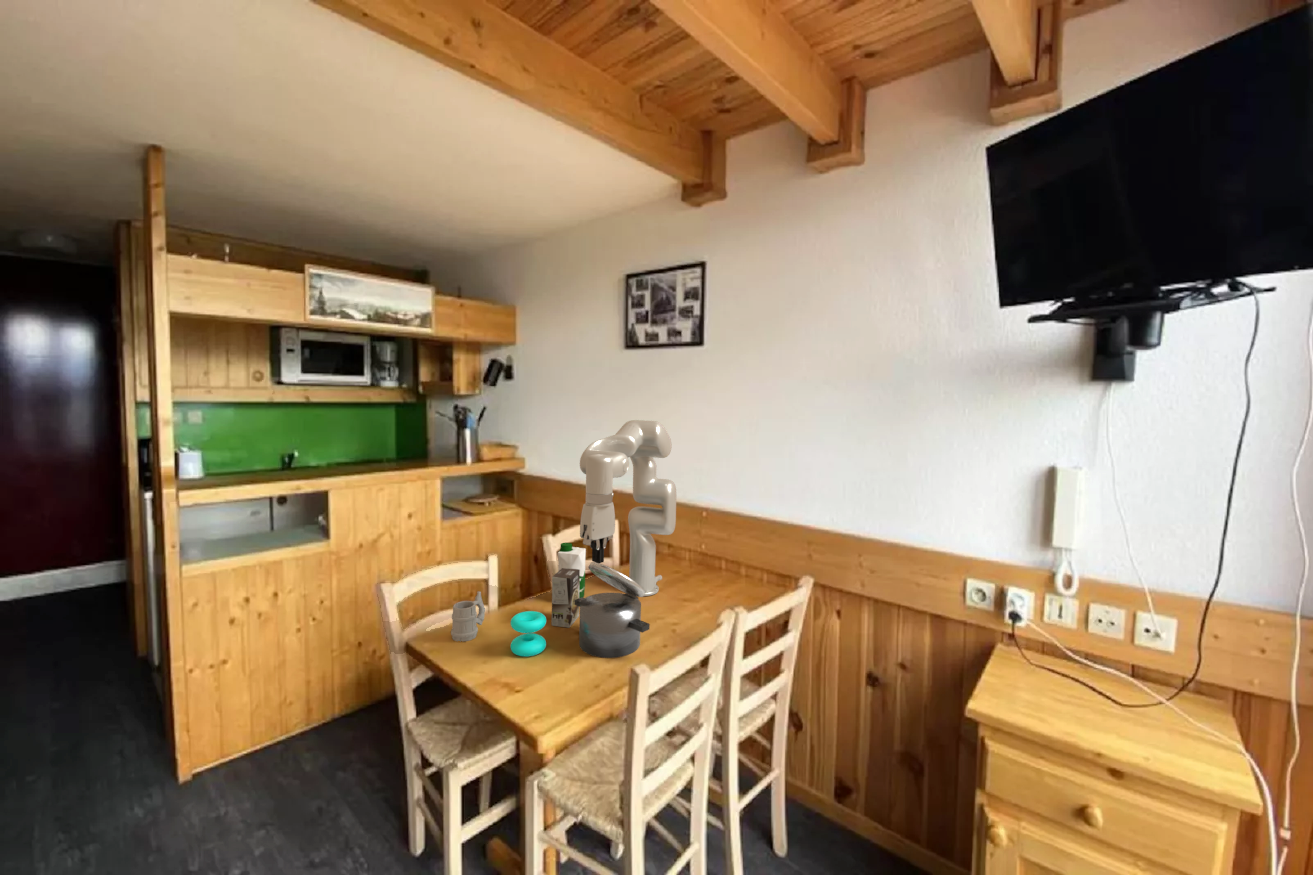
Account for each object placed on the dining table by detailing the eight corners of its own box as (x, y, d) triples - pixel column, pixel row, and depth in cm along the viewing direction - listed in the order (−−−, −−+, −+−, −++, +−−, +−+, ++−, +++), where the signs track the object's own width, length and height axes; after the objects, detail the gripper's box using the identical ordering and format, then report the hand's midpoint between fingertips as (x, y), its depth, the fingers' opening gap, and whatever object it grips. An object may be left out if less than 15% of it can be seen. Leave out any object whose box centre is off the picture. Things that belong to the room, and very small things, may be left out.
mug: (445, 638, 166) (444, 599, 165) (475, 623, 177) (474, 587, 176) (463, 644, 163) (463, 605, 162) (493, 629, 173) (493, 591, 172)
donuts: (529, 627, 153) (503, 618, 158) (529, 662, 154) (502, 652, 159) (553, 614, 162) (528, 606, 167) (553, 647, 163) (527, 638, 168)
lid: (609, 587, 178) (613, 579, 179) (653, 603, 166) (657, 594, 167) (577, 560, 166) (581, 552, 167) (622, 575, 154) (626, 566, 156)
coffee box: (570, 628, 176) (570, 578, 174) (550, 625, 177) (551, 576, 175) (579, 616, 185) (580, 569, 183) (561, 614, 186) (561, 567, 184)
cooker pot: (599, 619, 183) (600, 583, 182) (666, 647, 165) (667, 608, 164) (555, 638, 169) (555, 599, 167) (623, 671, 151) (624, 628, 150)
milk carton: (563, 593, 203) (564, 540, 201) (587, 596, 202) (588, 542, 200) (554, 603, 195) (555, 547, 193) (579, 605, 193) (580, 549, 191)
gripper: (608, 493, 166) (607, 553, 168) (570, 500, 155) (569, 564, 156) (626, 496, 161) (625, 558, 163) (588, 504, 150) (587, 571, 152)
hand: (597, 561), depth 160 cm, fingers closed
